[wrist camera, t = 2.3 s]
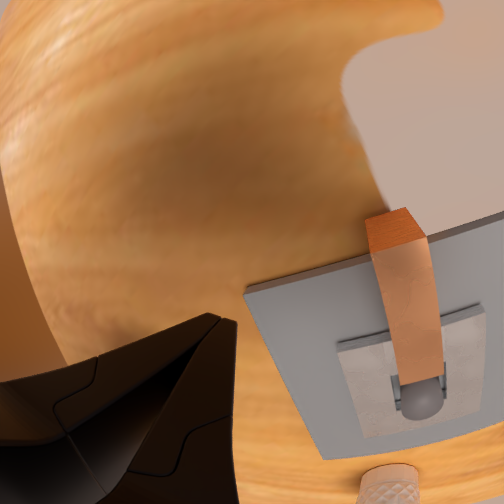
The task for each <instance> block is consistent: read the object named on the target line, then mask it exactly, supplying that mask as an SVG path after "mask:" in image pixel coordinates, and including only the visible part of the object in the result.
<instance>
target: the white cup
mask: <svg viewBox="0 0 504 504" xmlns="http://www.w3.org/2000/svg"><path fill="white" fill-rule="evenodd" d="M418 486H419V485H418V471H417V470H416V469H415V468H414V467H413V466H410V465H406V464H389V465H384V466H379V467H376V468H374V469H372V470H369V471H367V472H366V473H365V474H364V475H363V476H362V479H361V485H360V491H359V495H358V497H357V501H356V504H420V492H419V488H418Z"/></svg>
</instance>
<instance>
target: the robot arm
mask: <svg viewBox="0 0 504 504" xmlns="http://www.w3.org/2000/svg"><path fill="white" fill-rule="evenodd" d="M236 343H237V322H236V321H234V320H230V319H227V318H221V316H218V315H215V314H212V313H204V314H202V315H199V316H197V317H195V318H192V319H190V320H187V321H185V322H182V323H180V324H178V325H175V326H173V327H170V328H168V329H165V330H163V331H160V332H158V333H155V334H153V335H150V336H148V337H145V338H143V339H140V340H138V341H135V342H132V343H130V344H127V345H125V346H122V347H119V348H117V349H114V350H112V351H109V352H106V353H104V354H101V355H99V356H98V357H93V358H90V359H87V360H85V361H82V362H79V363H76V364H73V365H70V366H67V367H64V368H60V369H56V370H53V371H49V372H45V373H41V374H37V375H32V376H28V377H24V378H19V379H15V380H10V381H6V382H0V504H239V498H238V492H237V485H236V478H235V472H234V462H233V451H232V428H233V418H232V417H233V403H234V382H235V362H236Z"/></svg>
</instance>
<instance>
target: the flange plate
mask: <svg viewBox="0 0 504 504" xmlns="http://www.w3.org/2000/svg"><path fill="white" fill-rule="evenodd" d="M365 224H366V230H367V236H368V242H369V248H370V254H371V258H372V261H373V265H374V269H375V272H376V276H377V280H378V283H379V287H380V291H381V295H382V299H383V303H384V307H385V312H386V316H387V320H388V325H389V329H390V331H389V332H385V333H381V334H377V335H373V336H369V337H364V338H360V339H356V340H351V341H346V342H342V343H338V347H337V355H338V358H339V361H340V364H341V367H342V370H343V373H344V376H345V379H346V382H347V385H348V388H349V391H350V394H351V397H352V400H353V404H354V407H355V410H356V413H357V416H358V419H359V423H360V426H361V429H362V433H363V436H364V438H370V437H376V436H382V435H388V434H393V433H398V432H403V431H408V430H413V429H417V428H421V427H426V426H430V425H434V424H437V423H441V422H445V421H448V420H452V419H455V418H459V417H462V416H465V415H468V414H471V413H474V412H477V411H479V410H480V403H481V395H482V387H483V377H484V364H485V345H486V312H485V310H484V308H483V307H482V305H481V304H479V305H476V306H473V307H471V308H468V309H465V310H462V311H458V312H455V313H452V314H449V315H446V316H443V317H440V313H439V305H438V298H437V291H436V284H435V278H434V272H433V266H432V261H431V256H430V251H429V246H428V241H427V237H426V235H425V234H424V232H423V231H422V230H421V228H420V227H419V225H418V224H417V223H416V221H415V220H414V218H413V217H412V215H411V214H410V213H409V211H408V210H407V209H406V207H404V208H401V209H398V210H394V211H391V212H388V213H385V214H381V215H378V216H375V217H372V218H369V219H365ZM396 374H398V375H399V381H400V386H401V385H405V384H409V383H414V382H417V381H421V380H425V379H429V378H433V377H436V376H440V375H443V374H444V380H445V390H442V394H443V399H444V404H443V407H442V408H441V410H440V411H439V412H438V413H437V414H435V415H434V416H432V417H430V418H427V419H424V420H419V421H413V420H409V419H406V418H405V417H404V416H403V415H402V412H401V401H397V402H396V400H395V394H394V389H393V383H392V378H391V376H392V375H396Z"/></svg>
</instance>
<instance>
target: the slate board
mask: <svg viewBox="0 0 504 504" xmlns="http://www.w3.org/2000/svg"><path fill="white" fill-rule="evenodd" d="M426 237H427V241H428V246H429V251H430V256H431V261H432V266H433V272H434V278H435V284H436V291H437V298H438V305H439V313H440V317H443V316H446V315H449V314H452V313H455V312H458V311H462V310H465V309H468V308H471V307H473V306H476V305H479V304H481V305H482V307H483V308H484V310H485V312H486V345H485V364H484V377H483V387H482V395H481V403H480V410H479V411H477V412H474V413H471V414H468V415H465V416H462V417H459V418H455V419H452V420H448V421H445V422H441V423H437V424H434V425H430V426H426V427H421V428H417V429H413V430H408V431H403V432H398V433H393V434H388V435H382V436H376V437H370V438H364V436H363V433H362V429H361V426H360V423H359V419H358V416H357V413H356V410H355V407H354V404H353V400H352V397H351V394H350V391H349V388H348V385H347V382H346V379H345V376H344V373H343V370H342V367H341V364H340V361H339V358H338V355H337V347H338V343H342V342H346V341H351V340H356V339H360V338H364V337H369V336H373V335H377V334H381V333H385V332H389V331H390V329H389V325H388V320H387V316H386V312H385V307H384V303H383V299H382V295H381V291H380V287H379V283H378V280H377V276H376V272H375V269H374V265H373V261H372V258H371V254H370V253H369V254H366V255H362V256H359V257H355V258H352V259H348V260H345V261H341V262H338V263H334V264H331V265H327V266H324V267H320V268H316V269H313V270H309V271H305V272H302V273H298V274H294V275H291V276H287V277H283V278H280V279H276V280H272V281H268V282H264V283H261V284H257V285H253V286H249V287H248V288H247V289H246V291H245V292H244V294H243V297H244V299H245V302H246V304H247V306H248V308H249V310H250V312H251V314H252V316H253V319H254V321H255V323H256V325H257V327H258V329H259V331H260V333H261V335H262V338H263V340H264V342H265V344H266V346H267V348H268V350H269V352H270V354H271V356H272V358H273V360H274V362H275V364H276V367H277V369H278V371H279V373H280V375H281V377H282V379H283V381H284V383H285V385H286V387H287V389H288V391H289V393H290V395H291V397H292V399H293V401H294V403H295V405H296V407H297V409H298V411H299V413H300V415H301V417H302V419H303V421H304V423H305V425H306V427H307V429H308V431H309V433H310V435H311V437H312V439H313V441H314V443H315V445H316V447H317V448H318V450H319V452H320V454H321V456H322V458H323V460H331V459H342V458H352V457H361V456H368V455H375V454H382V453H388V452H394V451H399V450H404V449H409V448H414V447H419V446H423V445H427V444H432V443H436V442H440V441H443V440H447V439H451V438H454V437H458V436H461V435H464V434H467V433H471V432H474V431H477V430H480V429H483V428H485V427H488V426H491V425H494V424H496V423H499V422H502V421H504V211H502V212H500V213H497V214H494V215H491V216H488V217H485V218H482V219H479V220H476V221H473V222H470V223H467V224H463V225H460V226H457V227H454V228H451V229H448V230H445V231H442V232H439V233H435V234H432V235H429V236H426ZM391 378H392V383H393V389H394V394H395V400H396V402H397V401H401V412H402V415H403V416H404V417H405V418H406V419H409V420H413V421H419V420H424V419H427V418H430V417H432V416H434V415H435V414H437V413H438V412H439V411H440V410H441V408H442V407H443V404H444V399H443V394H442V390H445V380H444V374H443V375H440V376H436V377H433V378H429V379H425V380H421V381H417V382H414V383H409V384H405V385H401V386H400V381H399V375H398V374H396V375H392V376H391Z"/></svg>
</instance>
